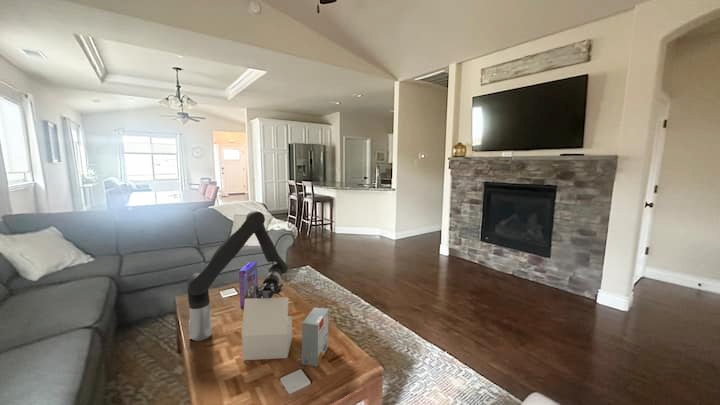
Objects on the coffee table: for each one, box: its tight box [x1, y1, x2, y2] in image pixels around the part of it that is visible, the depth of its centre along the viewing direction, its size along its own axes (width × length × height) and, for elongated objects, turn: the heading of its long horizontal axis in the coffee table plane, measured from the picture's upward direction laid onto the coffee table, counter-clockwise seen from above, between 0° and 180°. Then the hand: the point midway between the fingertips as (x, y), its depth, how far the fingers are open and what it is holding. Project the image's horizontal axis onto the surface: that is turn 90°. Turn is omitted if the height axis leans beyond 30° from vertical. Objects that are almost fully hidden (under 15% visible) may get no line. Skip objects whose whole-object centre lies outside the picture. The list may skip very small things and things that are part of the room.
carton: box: [241, 315, 293, 361], centre depth 140 cm, size 20×16×12 cm
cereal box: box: [238, 260, 259, 308], centre depth 187 cm, size 17×5×24 cm, turn 179°
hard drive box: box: [301, 307, 329, 368], centre depth 135 cm, size 16×8×20 cm, turn 168°
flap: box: [240, 291, 290, 337], centre depth 132 cm, size 20×19×4 cm
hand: (264, 296), depth 131 cm, fingers closed on flap, 4 cm apart
